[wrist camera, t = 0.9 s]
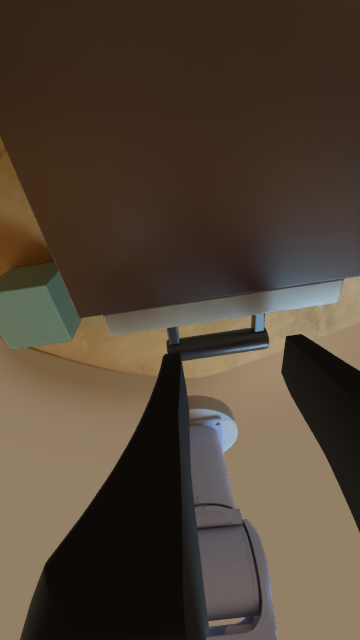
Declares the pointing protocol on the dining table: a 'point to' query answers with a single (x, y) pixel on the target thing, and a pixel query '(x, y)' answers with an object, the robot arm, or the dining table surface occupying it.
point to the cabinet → (185, 143)
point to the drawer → (222, 318)
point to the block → (35, 307)
